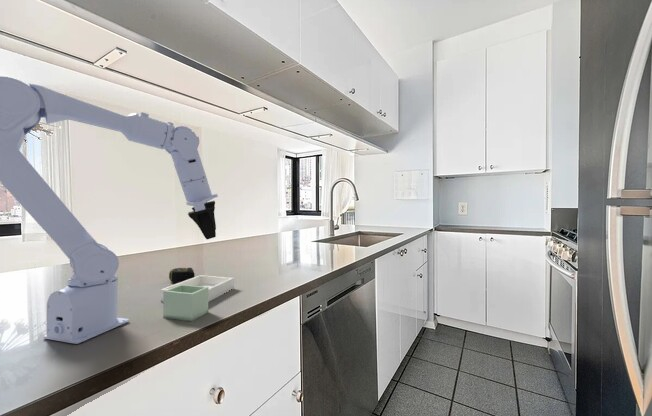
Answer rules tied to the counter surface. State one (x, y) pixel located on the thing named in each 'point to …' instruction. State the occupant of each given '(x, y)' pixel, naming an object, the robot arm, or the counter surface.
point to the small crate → (185, 302)
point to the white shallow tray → (207, 285)
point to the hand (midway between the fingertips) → (211, 234)
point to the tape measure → (181, 274)
